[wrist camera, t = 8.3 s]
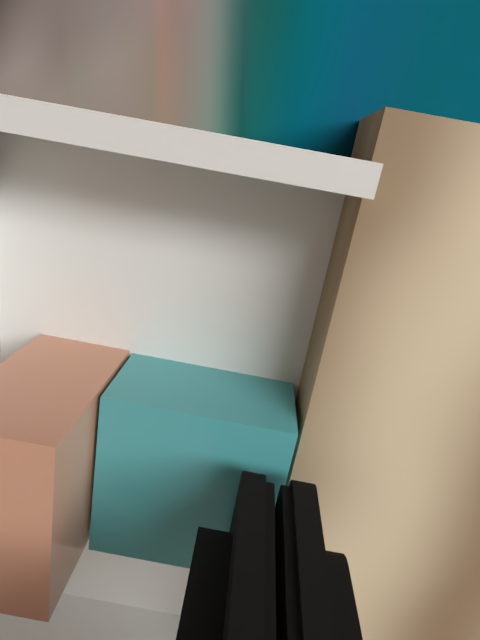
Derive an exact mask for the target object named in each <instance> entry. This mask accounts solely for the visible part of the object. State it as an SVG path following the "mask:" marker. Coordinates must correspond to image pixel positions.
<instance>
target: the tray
mask: <svg viewBox="0 0 480 640" xmlns="http://www.w3.org/2000/svg"><path fill="white" fill-rule="evenodd" d="M382 168H383V163H377V162H372V161H366V160H361V159H355V158H350V157H344V156H339V155H333V154H328V153H322V152H317V151H311V150H306V149H301V148H295V147H290V146H284V145H279V144H273V143H268V142H262V141H257V140H251V139H246V138H240V137H235V136H229V135H224V134H218V133H213V132H208V131H202V130H197V129H191V128H186V127H180V126H175V125H169V124H164V123H158V122H153V121H147V120H142V119H136V118H131V117H125V116H120V115H114V114H109V113H104V112H98V111H93V110H87V109H82V108H76V107H71V106H65V105H60V104H54V103H49V102H43V101H38V100H32V99H27V98H21V97H16V96H11V95H5V94H0V363H2V362H3V361H4V360H6V359H7V358H8V357H10V356H11V355H13V354H14V353H15V352H17V351H18V350H19V349H21V348H22V347H24V346H25V345H26V344H28V343H29V342H30V341H32V340H33V339H34V338H36V337H37V336H39V335H40V334H44V335H50V336H55V337H60V338H66V339H71V340H76V341H82V342H87V343H92V344H98V345H103V346H108V347H114V348H119V349H124V350H130V353H129V358H130V356H131V355H132V354H133V353H135V354H141V355H146V356H151V357H157V358H162V359H167V360H173V361H178V362H183V363H189V364H194V365H199V366H205V367H210V368H215V369H221V370H226V371H231V372H237V373H242V374H247V375H253V376H258V377H264V378H269V379H274V380H280V381H285V382H290V383H293V388H294V397H295V400H296V395H297V391H298V387H299V383H300V379H301V375H302V371H303V367H304V363H305V358H306V354H307V350H308V346H309V342H310V338H311V334H312V330H313V326H314V321H315V317H316V313H317V309H318V305H319V301H320V297H321V293H322V289H323V284H324V280H325V276H326V272H327V268H328V264H329V260H330V256H331V252H332V248H333V243H334V239H335V235H336V231H337V227H338V223H339V219H340V215H341V211H342V206H343V202H344V198H345V195H350V196H356V197H361V198H367V199H372V200H374V198H375V194H376V190H377V186H378V183H379V179H380V175H381V171H382ZM88 549H89V540H88V542H87V544H86V546H85V548H84V550H83V552H82V554H81V556H80V558H79V560H78V562H77V565H76V567H75V569H74V571H73V573H72V575H71V577H70V579H69V581H68V583H67V585H66V587H65V589H64V591H63V593H62V595H61V597H60V599H59V601H58V604H57V606H56V608H55V610H54V612H53V614H52V616H51V618H50V620H49V622H44V621H38V620H33V619H28V618H23V617H17V616H12V615H7V614H1V613H0V640H176V636H177V631H178V626H179V621H180V616H181V611H182V606H183V601H184V596H185V591H186V586H187V581H188V576H189V571H190V569H189V568H183V567H178V566H173V565H168V564H162V563H157V562H152V561H146V560H141V559H136V558H131V557H125V556H120V555H115V554H110V553H104V552H99V551H94V550H88Z"/></svg>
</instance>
